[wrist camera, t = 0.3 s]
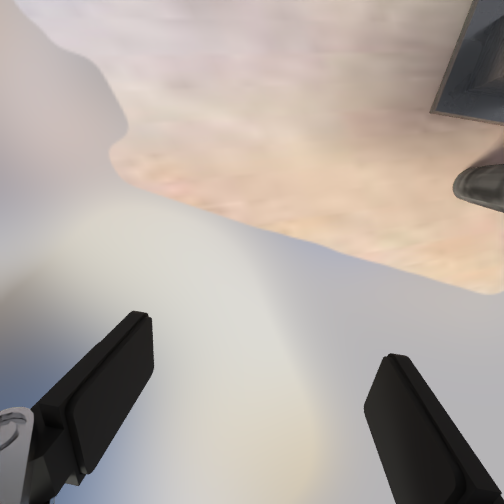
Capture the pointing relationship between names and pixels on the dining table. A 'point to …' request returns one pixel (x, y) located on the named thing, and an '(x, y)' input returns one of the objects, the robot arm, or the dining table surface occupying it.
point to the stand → (476, 68)
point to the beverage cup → (482, 186)
